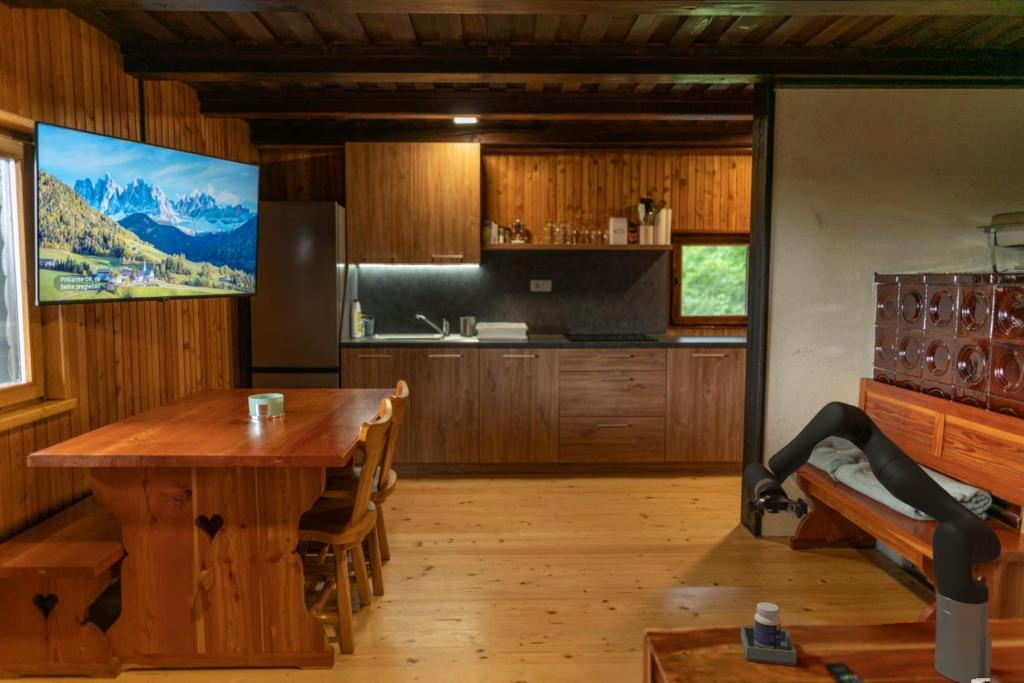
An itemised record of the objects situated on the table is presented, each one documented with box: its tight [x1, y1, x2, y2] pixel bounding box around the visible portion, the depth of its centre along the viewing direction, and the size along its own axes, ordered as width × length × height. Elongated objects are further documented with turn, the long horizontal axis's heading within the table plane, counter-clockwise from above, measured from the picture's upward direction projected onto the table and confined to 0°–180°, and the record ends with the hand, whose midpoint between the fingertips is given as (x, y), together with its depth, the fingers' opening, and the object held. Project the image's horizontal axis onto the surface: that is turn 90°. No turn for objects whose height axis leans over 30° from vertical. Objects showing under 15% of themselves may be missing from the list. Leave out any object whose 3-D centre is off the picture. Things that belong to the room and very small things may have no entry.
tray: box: [740, 625, 797, 666], centre depth 156 cm, size 10×10×3 cm
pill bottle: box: [753, 601, 782, 650], centre depth 156 cm, size 6×6×10 cm
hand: (781, 513), depth 168 cm, fingers open, 8 cm apart
